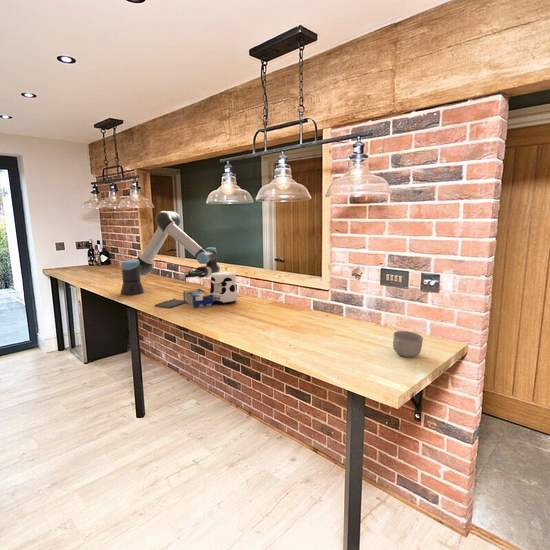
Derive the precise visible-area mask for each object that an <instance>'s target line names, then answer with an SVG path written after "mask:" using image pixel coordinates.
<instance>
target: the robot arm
mask: <svg viewBox="0 0 550 550" xmlns="http://www.w3.org/2000/svg"><path fill="white" fill-rule="evenodd" d="M154 220H155V224H156V225H157V229H156V230H155V232H154V233H153V235H152V237H151V239H150V240H149V242H148V244H147V246H146V247H145V249H144V251H143V253H141V254H139V255H138V257H136V258H130V259H125V260H123V261H122V262H121V274H122V276H121V277H122V285H121V289H120V295H122V294H125V295H124V296H134V295H141V294H143V293H144V292H145V290H144V287H143V284H142V282H141V277H142V276H146V275H148V274H150V273H152V271H153V268H154V263H155V261H154V259H155V258H156V256H157V255H158V253H159V251H160V249H161V248H162V246H163V245H164V243H165V242H166V239H167V238H168V236H170V237H171V238H173V239H174V240H175V241H176V242H177V243H179V245H181V246H182V247H183V248H185V250H187V252H189V253H190V254H191V255H192V256H194V257H195V258H196V261H197V263H199V264H201V265H202V266H198V267H197V268H196V269H194V270H188V271H185V272H183V273H181V274H179V279H180V280H184V279H188V278H196V277H198V278H207V277H208V276H209V277H211V274H212V273H218V272H221V267H220V265H219V264H218V258H217V256H218V255H217V253H218V252H217V248H216V247H206V248H205V249H203V247H202V246H201V245H199V244H198V243H197V242H196V241H195V240H194V239H192V238H191V237H190V236H189V235H187V233H185V232H184V230H182V229H181V228H179V226H180V225H181V216H180V215H179V214H178V213H177V212H176V211H173V210H170V211H167V210H162V211H159V212H158V213H157V214H156V216H155V219H154Z"/></svg>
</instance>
